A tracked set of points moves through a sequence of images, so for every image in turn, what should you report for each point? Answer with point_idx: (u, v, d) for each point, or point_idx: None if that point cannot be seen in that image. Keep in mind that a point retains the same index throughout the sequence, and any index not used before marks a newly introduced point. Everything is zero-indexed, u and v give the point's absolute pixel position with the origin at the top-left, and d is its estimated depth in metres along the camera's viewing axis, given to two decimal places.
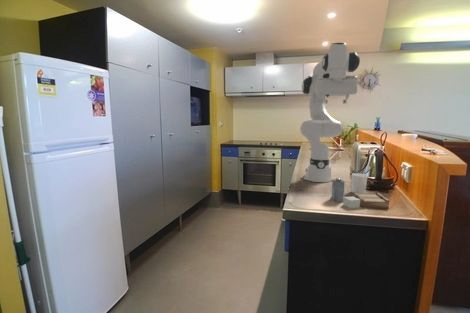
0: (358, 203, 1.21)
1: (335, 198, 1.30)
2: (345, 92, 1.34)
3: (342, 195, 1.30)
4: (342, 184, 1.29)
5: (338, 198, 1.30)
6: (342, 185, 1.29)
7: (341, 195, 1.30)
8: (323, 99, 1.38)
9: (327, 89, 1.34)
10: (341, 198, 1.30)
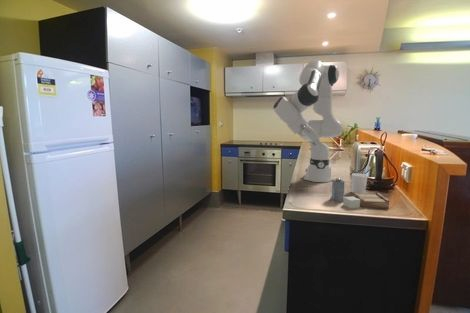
0: (358, 203, 1.21)
1: (335, 198, 1.30)
2: (310, 140, 1.25)
3: (342, 195, 1.30)
4: (342, 184, 1.29)
5: (338, 198, 1.30)
6: (342, 185, 1.29)
7: (341, 195, 1.30)
8: None
9: (304, 137, 1.34)
10: (341, 198, 1.30)
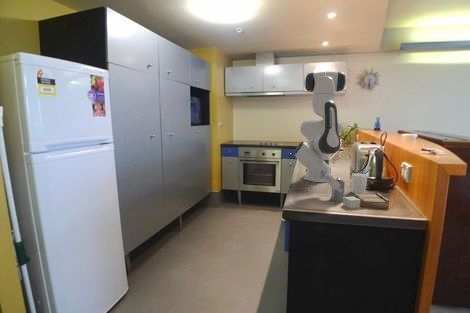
0: (358, 203, 1.21)
1: (335, 198, 1.30)
2: None
3: (342, 195, 1.30)
4: (342, 184, 1.29)
5: (338, 198, 1.30)
6: (342, 185, 1.29)
7: (341, 194, 1.30)
8: None
9: None
10: (341, 198, 1.30)
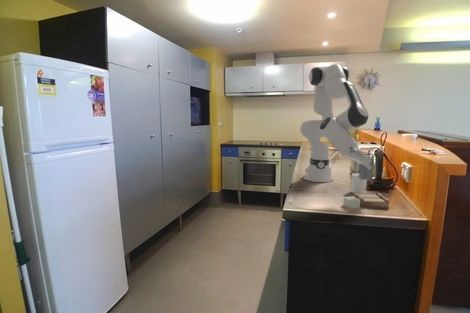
0: (358, 203, 1.21)
1: (364, 176, 1.24)
2: (360, 163, 1.21)
3: (371, 173, 1.23)
4: (371, 161, 1.22)
5: (367, 176, 1.24)
6: (371, 162, 1.23)
7: (370, 172, 1.23)
8: None
9: (351, 158, 1.30)
10: (370, 176, 1.23)
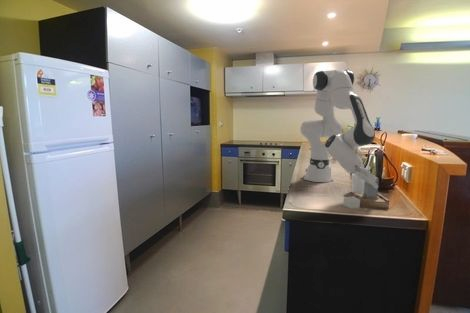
0: (358, 203, 1.21)
1: (368, 195, 1.25)
2: (365, 181, 1.22)
3: (376, 192, 1.24)
4: (376, 181, 1.23)
5: (371, 195, 1.24)
6: (376, 182, 1.23)
7: (375, 192, 1.24)
8: None
9: (356, 174, 1.30)
10: (375, 195, 1.24)
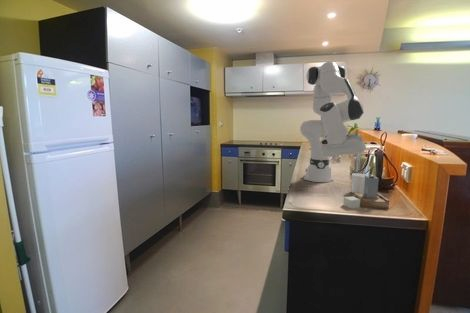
0: (358, 203, 1.21)
1: (368, 195, 1.25)
2: (351, 152, 1.23)
3: (376, 192, 1.24)
4: (376, 181, 1.23)
5: (371, 195, 1.24)
6: (376, 182, 1.23)
7: (375, 192, 1.24)
8: None
9: (332, 152, 1.30)
10: (375, 195, 1.24)
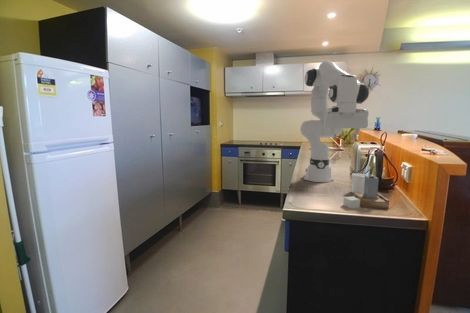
0: (358, 203, 1.21)
1: (368, 195, 1.25)
2: (355, 126, 1.27)
3: (376, 192, 1.24)
4: (376, 181, 1.23)
5: (371, 195, 1.24)
6: (376, 182, 1.23)
7: (375, 192, 1.24)
8: (332, 133, 1.31)
9: (336, 123, 1.27)
10: (375, 195, 1.24)
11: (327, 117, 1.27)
